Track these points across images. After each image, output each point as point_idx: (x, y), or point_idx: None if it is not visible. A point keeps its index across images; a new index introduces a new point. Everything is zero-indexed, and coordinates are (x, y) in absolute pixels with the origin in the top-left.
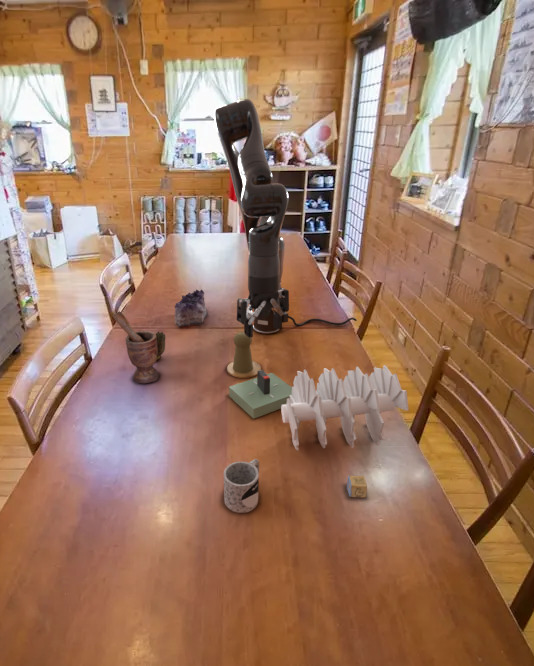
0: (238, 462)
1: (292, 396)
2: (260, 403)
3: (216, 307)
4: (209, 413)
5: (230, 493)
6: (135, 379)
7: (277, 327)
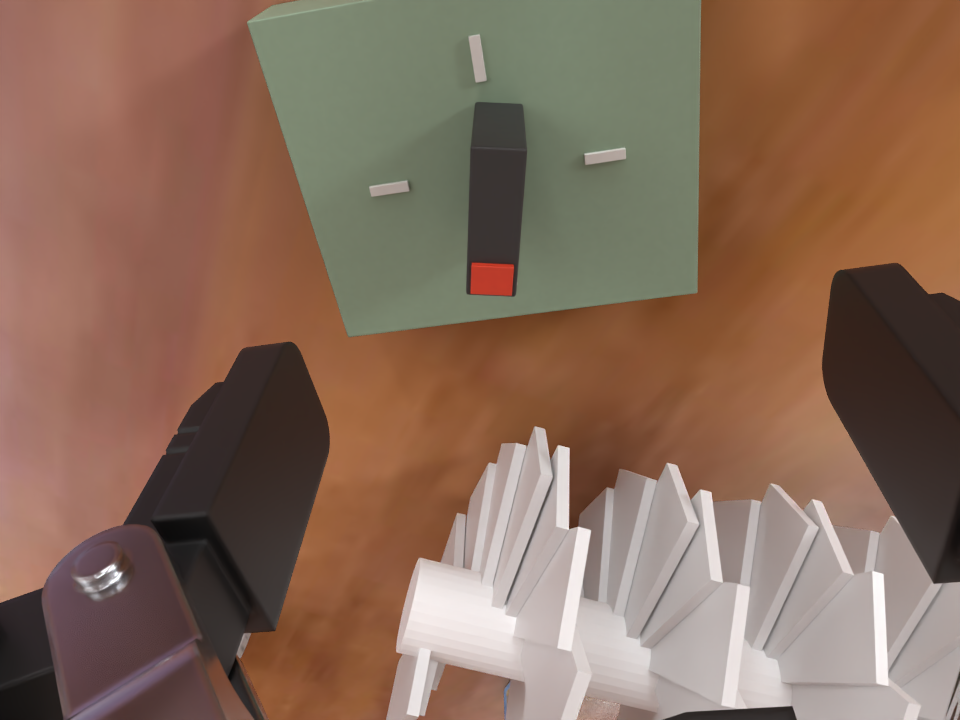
0: None
1: (551, 485)
2: (408, 306)
3: None
4: (107, 156)
5: None
6: None
7: (833, 388)
